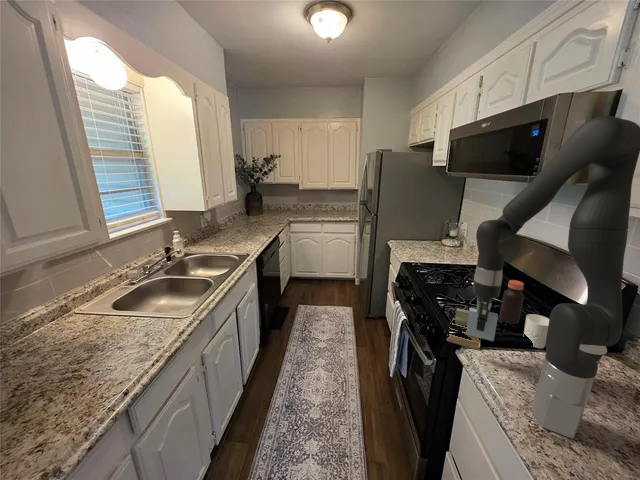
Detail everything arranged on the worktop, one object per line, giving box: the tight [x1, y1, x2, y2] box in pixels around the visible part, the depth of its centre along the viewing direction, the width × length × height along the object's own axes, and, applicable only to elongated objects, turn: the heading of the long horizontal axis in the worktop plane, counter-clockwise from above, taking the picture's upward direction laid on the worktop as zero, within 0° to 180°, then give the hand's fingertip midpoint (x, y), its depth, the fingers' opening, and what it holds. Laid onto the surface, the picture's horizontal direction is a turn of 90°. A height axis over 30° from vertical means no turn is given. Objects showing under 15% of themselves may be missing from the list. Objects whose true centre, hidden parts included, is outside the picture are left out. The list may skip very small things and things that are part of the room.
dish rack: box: [446, 307, 481, 352], centre depth 103 cm, size 14×11×9 cm
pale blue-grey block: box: [466, 307, 499, 342], centre depth 89 cm, size 2×8×9 cm, turn 59°
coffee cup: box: [579, 344, 608, 365], centre depth 80 cm, size 10×10×15 cm
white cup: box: [523, 313, 550, 349], centre depth 98 cm, size 8×8×10 cm
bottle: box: [498, 279, 525, 325], centre depth 108 cm, size 7×7×20 cm
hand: (480, 327), depth 89 cm, fingers closed on pale blue-grey block, 2 cm apart
